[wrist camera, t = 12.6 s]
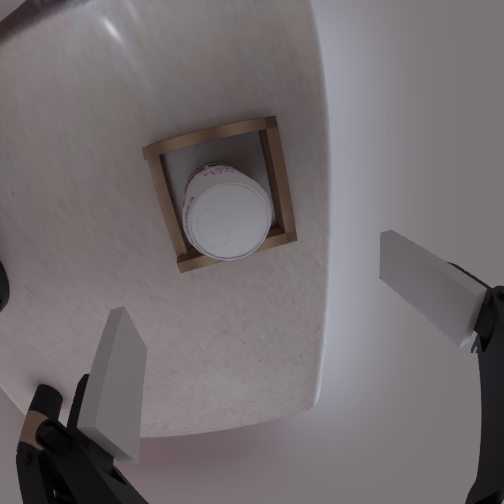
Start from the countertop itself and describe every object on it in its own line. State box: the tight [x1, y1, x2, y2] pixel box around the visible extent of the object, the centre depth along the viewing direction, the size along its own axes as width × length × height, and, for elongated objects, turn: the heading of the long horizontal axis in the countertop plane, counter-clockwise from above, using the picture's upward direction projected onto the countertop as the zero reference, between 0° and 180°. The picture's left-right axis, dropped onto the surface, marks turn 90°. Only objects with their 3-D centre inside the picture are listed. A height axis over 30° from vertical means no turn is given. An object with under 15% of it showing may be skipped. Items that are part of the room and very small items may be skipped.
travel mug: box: [17, 384, 63, 452], centre depth 36 cm, size 8×8×20 cm
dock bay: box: [142, 116, 297, 273], centre depth 35 cm, size 16×17×4 cm
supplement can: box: [182, 162, 272, 261], centre depth 30 cm, size 8×8×15 cm
